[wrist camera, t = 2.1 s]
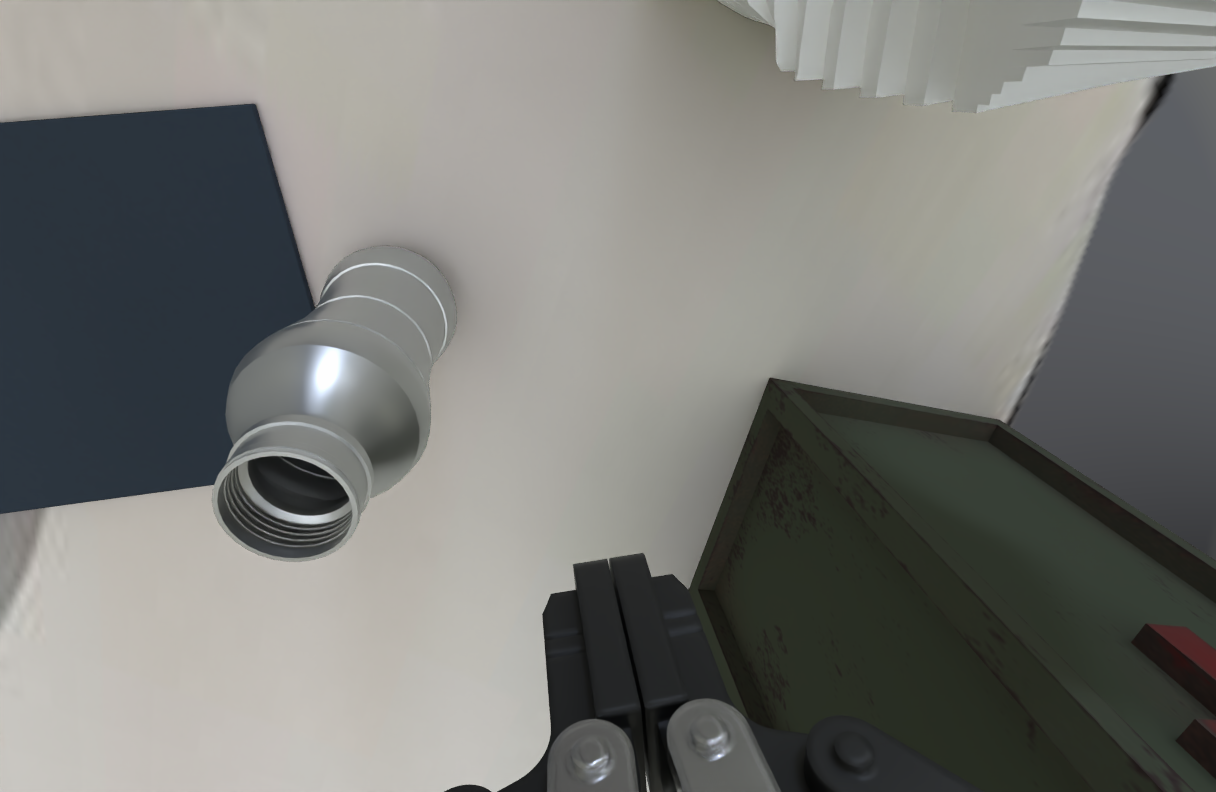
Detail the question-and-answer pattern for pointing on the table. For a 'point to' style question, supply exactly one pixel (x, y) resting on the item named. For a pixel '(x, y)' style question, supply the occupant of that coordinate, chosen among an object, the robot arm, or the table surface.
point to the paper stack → (984, 45)
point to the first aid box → (958, 599)
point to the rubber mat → (133, 297)
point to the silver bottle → (334, 406)
